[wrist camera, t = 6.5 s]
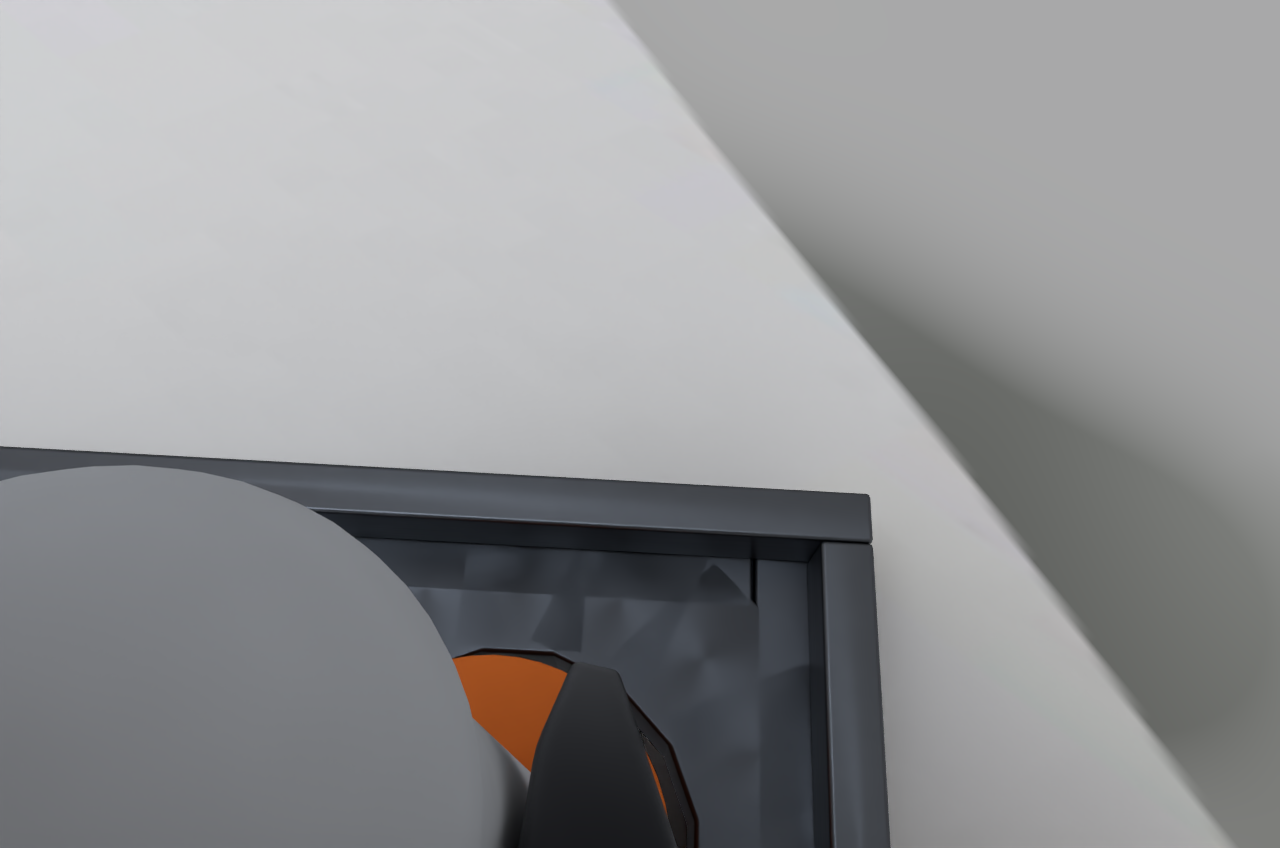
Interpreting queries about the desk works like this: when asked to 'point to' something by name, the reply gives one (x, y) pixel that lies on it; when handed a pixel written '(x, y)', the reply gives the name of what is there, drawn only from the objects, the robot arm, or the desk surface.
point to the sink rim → (630, 522)
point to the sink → (655, 660)
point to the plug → (238, 679)
